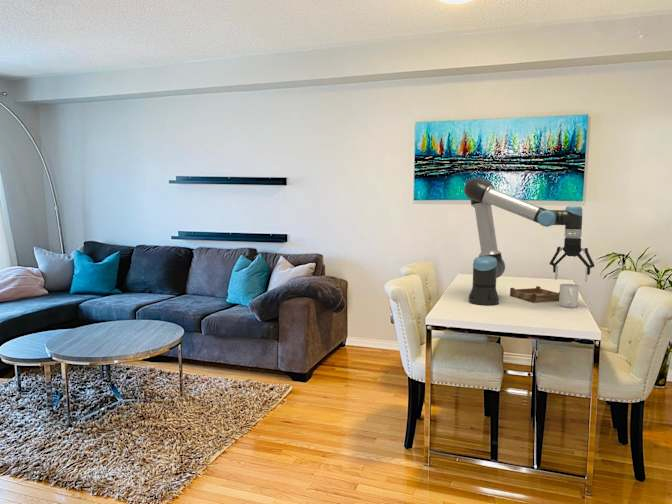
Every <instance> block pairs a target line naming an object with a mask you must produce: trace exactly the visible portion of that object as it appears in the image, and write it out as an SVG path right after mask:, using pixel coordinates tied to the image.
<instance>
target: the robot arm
mask: <svg viewBox="0 0 672 504" xmlns="http://www.w3.org/2000/svg"><path fill="white" fill-rule="evenodd" d="M463 191H464V195H465V196H466V197H467V198H468V199H469V200H470V205H471V207H473V208H474V212H475V220H476V226H477V233H478V240H479V246H480V253H479V254H478V256H477V257H475V258H474V259H473V263H472V266H473V267H472V288H471V290H470V293H469V294H468V303H470V304H473V305H481V306H496V305H499V303H500V298H499V294H498V292H497V279H498V278H500V277H501V276H502V275H503V274H504V272H505V270H506V263H505V261H504V259H503V258H502V257H503V256H502V252H501V251H500V250H498V244H497V235H496V229H495V222H494V216H493V210H492V209H493V208H492V206H494V207H496V208H500V209H502V210H505V211H506V212H510V213H512V214H514V215H518V216H519V217H521V218H522V217H523V218H524V219H526V220H529V221H532V222H535V223H537V224H539V225H540V226H542V227H546V228H547V227H551V226H564V245H563V247H562V246H557V248H556V252H555V253H554V254H553V257H552V258H551V260H550V262H549V265H550V266H552V272H553V274H554V280H558V275H559V273H558V272H559V271H558V270H559V265H558V264H559V263H560V262H561V261H563V260H564V259H565V257H566V256H568V257H577V258H578V259H579V260H580V261H581V262H582V264H584V266H585V272H584V275H585V276H584V282H588V275H589V276H590V274H591V269H592V268H594V267H595V263H594V261H593V259H592V257H591V256H590V253H589V249H588V247H582V238H581V237H582V234H583V232H582V230H583V229H582V227H583V208H582V206H578V205H575V206H573V205H569V206H566V207H565V209H562V210H560V209H547V208H544V207H542V206H538V205H536V204H534V203H532V202H528V201H526V200H523V199H520V198H518V197H516V196H513V195H511V194H507V193H505V192H503V191H500V190H497V189H495V188H494V185H493V183H492V182H491V181H490V180H488V179H486V178H479V177H474V178H471V179H469V180H467V181H466V183H465V185H464V188H463ZM560 252H564V253H563V255H561V256H560V257H559V258H558V259H557V260H556V258H557V257H558V255H559V254H560ZM581 252H582V253H584V254H585V256H586V259H587V260H588V262H589V263H588V262H587V260H586V259H585V258H584V257H583V255H581ZM555 260H556V262H555Z"/></svg>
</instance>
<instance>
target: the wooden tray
mask: <svg viewBox="0 0 672 504" xmlns="http://www.w3.org/2000/svg"><path fill="white" fill-rule="evenodd" d="M559 294H560V291H558V292H556V291H552V290H548V289H545V288H544V289H543V288H541V286H538V285H537V286H535V287H534V288H532V287H531V288H530V287H529V288H515V287H510V288H509V296H510V297H512V298H514V299H515V298H516V299H520V300H522V301H527V302H530V303H533V304H536V303H548V302H559Z"/></svg>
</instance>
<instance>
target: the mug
mask: <svg viewBox="0 0 672 504" xmlns="http://www.w3.org/2000/svg"><path fill="white" fill-rule="evenodd" d="M579 289H580V285H577V284H573V283H560V284H559V292H560V294H559V301H558V305H559V306H560V307H562V308H569V309H574V308H577V307H578V305H579V291H580V290H579Z"/></svg>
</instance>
